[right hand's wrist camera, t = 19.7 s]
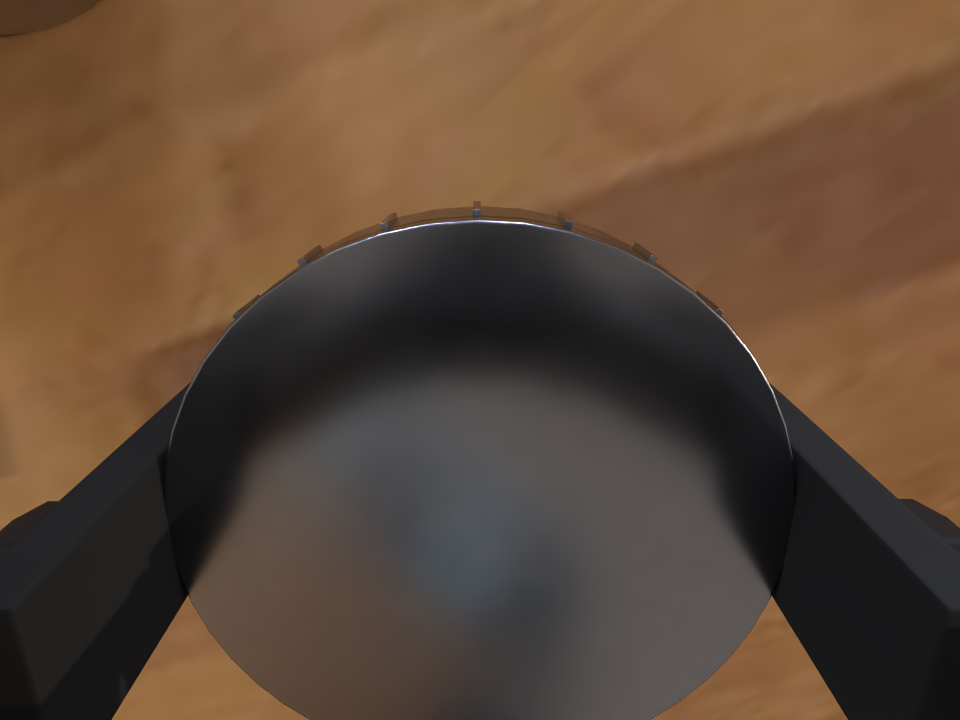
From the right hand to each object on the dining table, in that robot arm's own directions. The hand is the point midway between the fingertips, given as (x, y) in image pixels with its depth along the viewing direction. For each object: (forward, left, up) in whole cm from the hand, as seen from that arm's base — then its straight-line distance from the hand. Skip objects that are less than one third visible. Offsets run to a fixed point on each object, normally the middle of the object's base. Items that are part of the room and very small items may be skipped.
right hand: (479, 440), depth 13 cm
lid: (0, 0, +3) cm, 3 cm away
